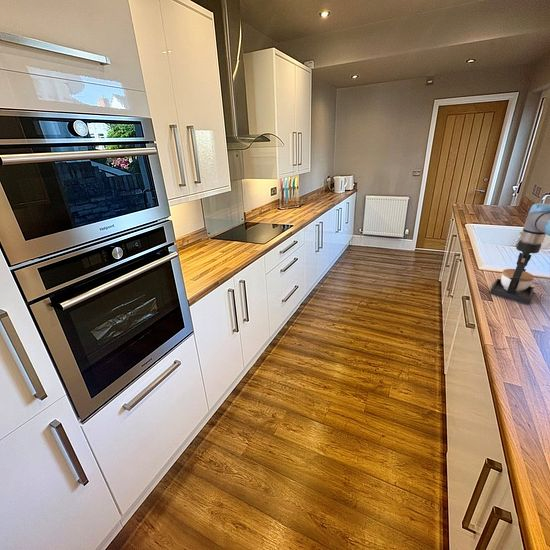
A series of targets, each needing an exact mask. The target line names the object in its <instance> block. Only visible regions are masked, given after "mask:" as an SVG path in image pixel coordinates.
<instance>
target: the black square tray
mask: <svg viewBox="0 0 550 550" xmlns="http://www.w3.org/2000/svg"><path fill="white" fill-rule="evenodd" d="M534 290H535V287H534V286H529V287H528V288H527V289H525V290H523V291H521V292H518V293H515V294H511V293H507V290H506V289H504V287H503V285H502V284H501V278H496V280H495V281H494V283H493V284H492V287H491V289H490V290H489V294H490V295H493V296H496V297H501V298H504V299H508V300H511V301H515V302H519V303H523V304H526V305H529V303H530V301H531V298H532V295H533V292H534Z"/></svg>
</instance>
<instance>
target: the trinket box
mask: <svg viewBox="0 0 550 550" xmlns="http://www.w3.org/2000/svg"><path fill="white" fill-rule="evenodd" d="M515 269H516V268H505V269H503V270H502V273H501V275H500V279H501V284H502V285H503V287H504V289H506V290H508V287H509V284H510V282H511V279H510V278H512V277H513V275H514V272H515ZM515 278H516V277H515ZM533 280H534V275H533V274H532V273H530V272H528V271H523V272H522V275H521V277H520V281H519V283H518V286H517V288H516V291H515V293H518V292H521V291H523V290H525V289H527V288H528V287H529V286H530V285H531V284H532V282H533ZM530 287H531V286H530Z"/></svg>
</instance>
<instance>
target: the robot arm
mask: <svg viewBox="0 0 550 550" xmlns="http://www.w3.org/2000/svg"><path fill="white" fill-rule="evenodd" d="M519 235H520V237H519V240H518V242H517V244H516V247H515V248H516V250H517V251H519V254H518V257H517V261H516V267H515V268H514V269H515V272H514V275H513V277H512V278H510V279H511V282H510V284H509V287H508V290H507V293H511V294H515V291H516V288H517V286H518V283H519V281H520V277H521V275H522V272H523V271H525V272H527V269H526V267H527V266H528V264H529V261H530V260H531V258H532V254H538V253H539V252H540V251H541V248H542V244H543V243H544V241H545V238H546V236H548V237H550V203H544V202H537V203H534V204H532V205H531V207H530V209H529V211H528V213H527V216H526V219H525V222H524V225H523V228H522V231H520V232H519ZM515 277H516V278H515Z"/></svg>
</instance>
